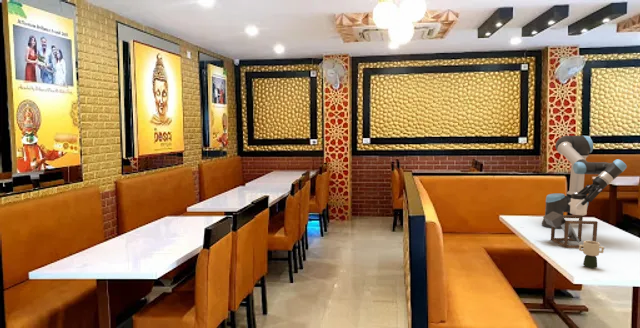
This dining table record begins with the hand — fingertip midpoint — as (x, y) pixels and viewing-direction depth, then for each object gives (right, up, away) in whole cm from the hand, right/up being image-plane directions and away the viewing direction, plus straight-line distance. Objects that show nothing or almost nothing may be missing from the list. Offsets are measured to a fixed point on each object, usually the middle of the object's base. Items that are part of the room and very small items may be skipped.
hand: (573, 206), depth 282 cm
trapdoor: (-10, -16, +2) cm, 19 cm away
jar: (+3, -5, +1) cm, 6 cm away
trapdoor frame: (+1, -23, +2) cm, 23 cm away
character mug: (-15, -27, -43) cm, 53 cm away
